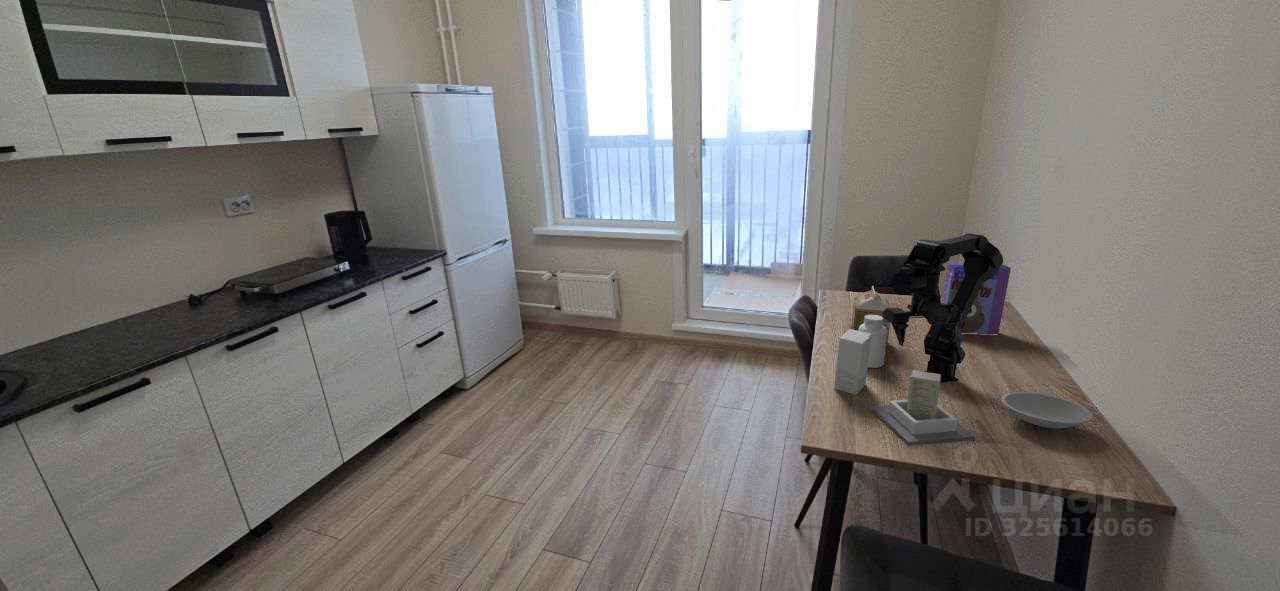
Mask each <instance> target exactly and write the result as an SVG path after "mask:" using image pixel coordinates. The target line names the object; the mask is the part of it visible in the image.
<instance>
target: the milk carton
mask: <svg viewBox="0 0 1280 591" xmlns="http://www.w3.org/2000/svg"><path fill="white" fill-rule="evenodd" d="M886 308H891V306H890V302H889V300H888V299H887V298H886V297H885V296H884V295H882V294H881V293H879V292H878V291H875V288H874V285H872V286H871V290H868V291H865V292H862V293H861V294H859V295H857V296H855V298H853V307H852V315H851V316H852V317H851V325H850V329H852V330H857V331H858V329H859V327H860V325H862V324H864V317H865V316H866V315H878V316H881V317H882V316H883V311H884V310H885V309H886ZM883 326H884V327H885V328H886V329H887V339H886V348H885V353H888V352H887V351H888V342H889V334H890V328H891V327H890V326H891V323H890V322H889V321H887V320H886V319H884V321H883Z"/></svg>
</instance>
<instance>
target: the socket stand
mask: <svg viewBox="0 0 1280 591" xmlns="http://www.w3.org/2000/svg"><path fill="white" fill-rule="evenodd" d="M907 404H908V399H894V400H889V401H888V405H881V406H872V407H871V412H872V413H873V414H874V415H876V417H877V418H879V420H880V421H882V422H883V424H884V425H886V426H887V427H888V428H889V429H890V431H892V432H893V433H894V434H895V435H896V436H897V437H898V438H899V439H900V440H901V441H903V443H904V444H905V445H907V446H908V447H909V446H911V447H912V446H922V445H934V444H947V443H949V444H950V443H960V442H970V441H972V442H973V441H975V439H976V436H975V435H974V434H972V433H971V432H970V431H969V430H968V429H966V427H965V428H964V426H962V425H961V424H960V423H958V421H959V420H958V418H957V417H955V416H954V415H952V414H951V413H950V412H948V411H947V410H946V409H945V408H943V407H942V406H941V405H939V404H938V403H937V410H936V418H935V419H928V420H915V419H914V418H913V417H912V416H910V415H909V414H908V413H907Z"/></svg>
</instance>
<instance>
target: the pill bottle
mask: <svg viewBox="0 0 1280 591" xmlns="http://www.w3.org/2000/svg"><path fill="white" fill-rule="evenodd" d="M883 321H884V318H882V317H881V316H878V315H866V316H865V317H864V324H862V325H860V327H859V329H858V331H861V332H866V333H871V334H872V336H871V344H870V351H869V359H868V367H867V369H868V368H869V369H878V368H881V367H883V365H884V363H885V356H886V352H885V348H886V339H887V329H886V328H885V327H884V326H883Z"/></svg>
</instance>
